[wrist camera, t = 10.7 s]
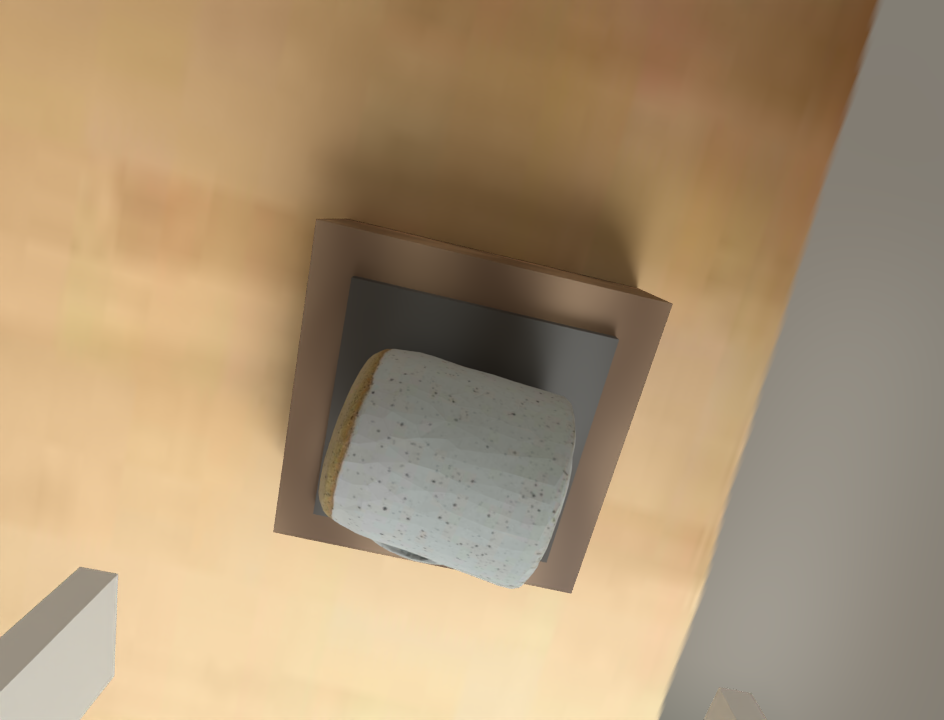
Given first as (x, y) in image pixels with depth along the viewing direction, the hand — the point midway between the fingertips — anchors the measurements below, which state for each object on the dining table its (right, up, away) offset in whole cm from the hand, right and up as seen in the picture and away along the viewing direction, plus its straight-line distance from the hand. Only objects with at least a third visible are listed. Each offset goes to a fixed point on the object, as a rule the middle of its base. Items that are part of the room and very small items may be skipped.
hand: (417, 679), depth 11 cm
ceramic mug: (0, +3, +13) cm, 13 cm away
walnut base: (+1, +5, +18) cm, 18 cm away
